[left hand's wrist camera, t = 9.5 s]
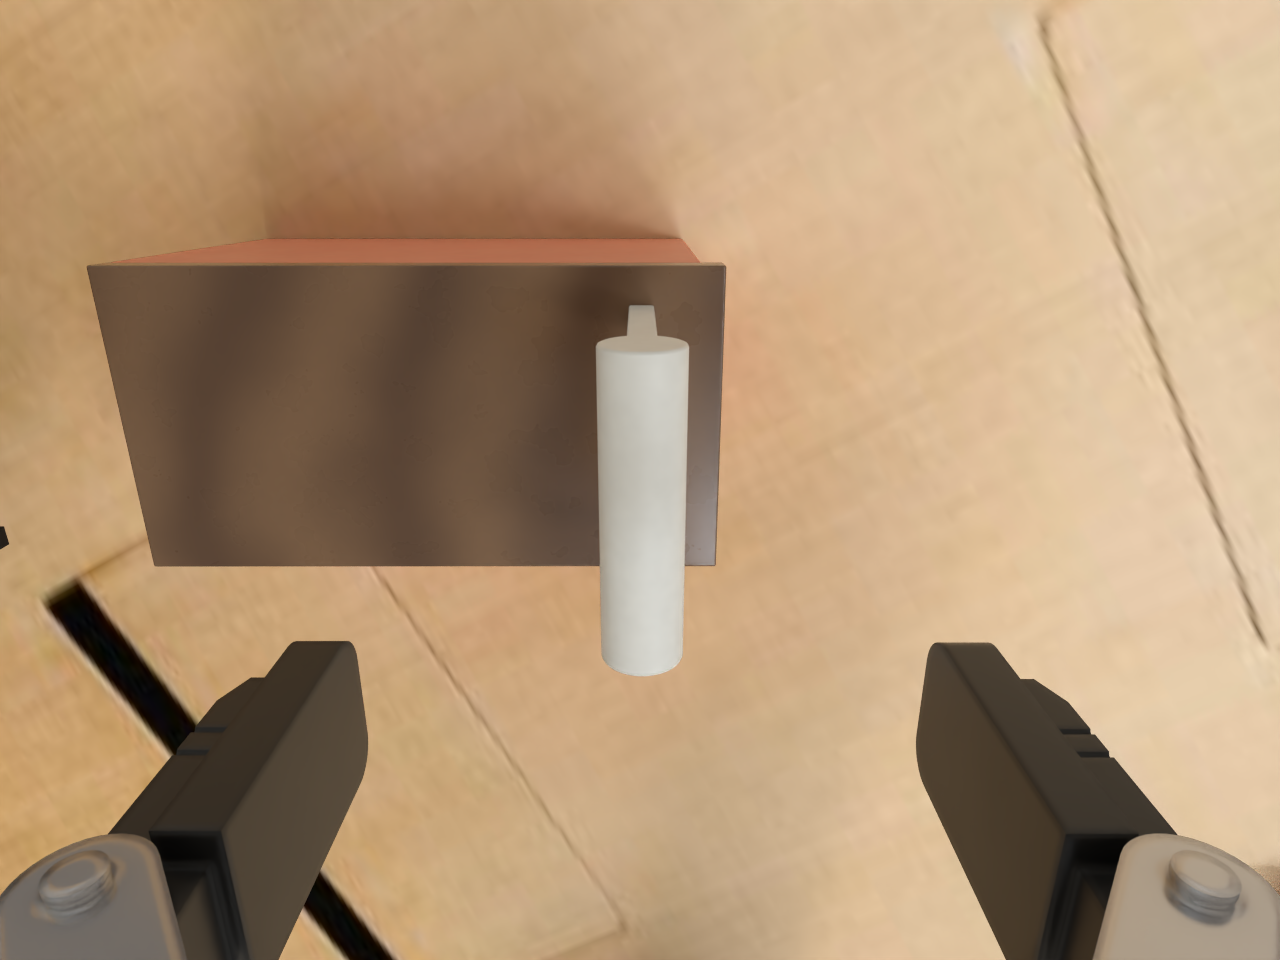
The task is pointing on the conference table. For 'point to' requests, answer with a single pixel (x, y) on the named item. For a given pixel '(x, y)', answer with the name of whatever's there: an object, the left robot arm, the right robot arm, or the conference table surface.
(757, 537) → the conference table surface
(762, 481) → the conference table surface
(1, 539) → the right robot arm
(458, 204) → the conference table surface
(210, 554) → the lid
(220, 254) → the chest
